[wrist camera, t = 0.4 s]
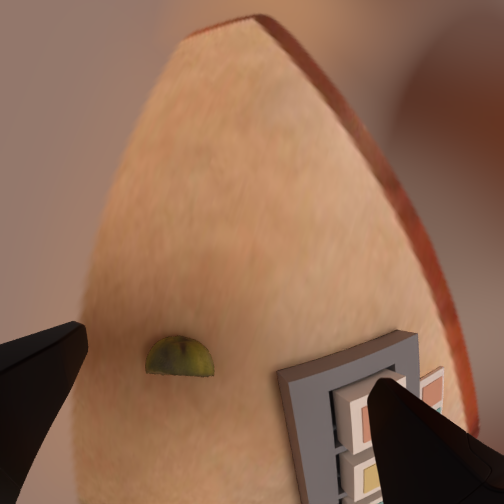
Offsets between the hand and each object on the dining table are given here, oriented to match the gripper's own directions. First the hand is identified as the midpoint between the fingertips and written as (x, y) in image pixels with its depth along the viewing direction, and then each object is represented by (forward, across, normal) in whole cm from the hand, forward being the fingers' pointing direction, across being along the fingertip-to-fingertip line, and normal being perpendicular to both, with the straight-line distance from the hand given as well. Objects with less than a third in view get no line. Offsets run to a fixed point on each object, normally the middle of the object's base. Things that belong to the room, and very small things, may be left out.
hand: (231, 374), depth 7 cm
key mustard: (+8, -15, +17) cm, 24 cm away
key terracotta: (+10, -13, +11) cm, 20 cm away
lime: (+12, +4, +10) cm, 16 cm away
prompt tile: (+13, -25, +15) cm, 32 cm away
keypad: (+10, -15, +18) cm, 26 cm away
